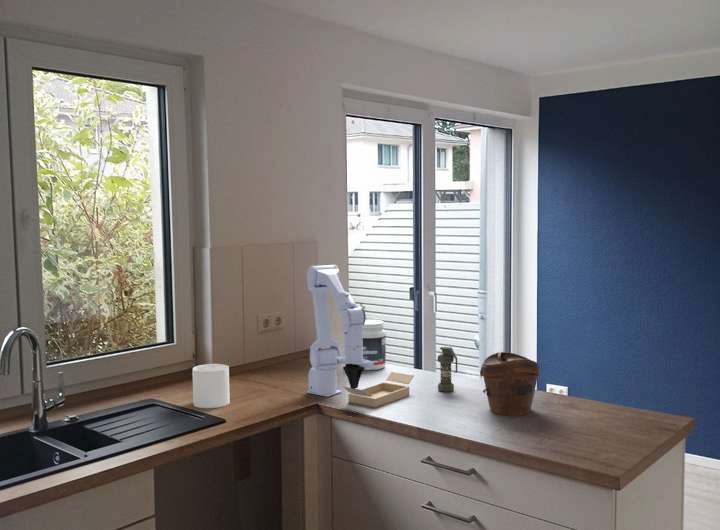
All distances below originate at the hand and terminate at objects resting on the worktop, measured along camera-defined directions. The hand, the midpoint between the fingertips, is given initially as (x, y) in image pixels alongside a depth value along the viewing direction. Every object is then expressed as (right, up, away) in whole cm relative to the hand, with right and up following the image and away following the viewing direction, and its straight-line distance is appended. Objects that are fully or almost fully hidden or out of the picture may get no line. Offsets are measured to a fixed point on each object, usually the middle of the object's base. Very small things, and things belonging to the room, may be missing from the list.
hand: (354, 387), depth 229 cm
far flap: (+16, 0, +20) cm, 25 cm away
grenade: (+32, -5, +21) cm, 38 cm away
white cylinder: (-47, -7, +8) cm, 48 cm away
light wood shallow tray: (+8, -6, +11) cm, 15 cm away
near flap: (+1, -1, +1) cm, 2 cm away
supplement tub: (+6, -2, +58) cm, 58 cm away
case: (+48, -6, -4) cm, 49 cm away
